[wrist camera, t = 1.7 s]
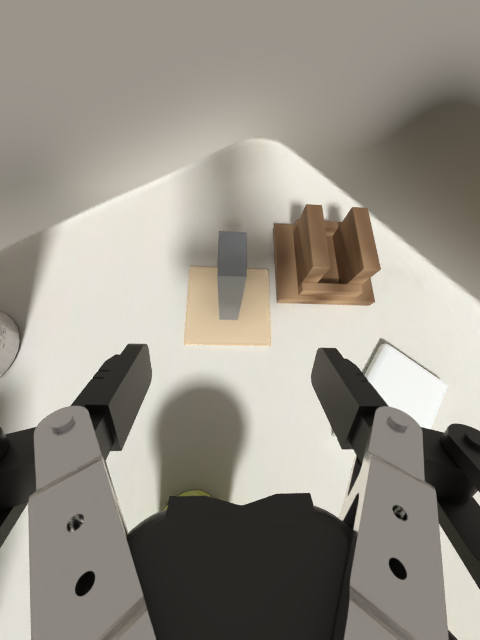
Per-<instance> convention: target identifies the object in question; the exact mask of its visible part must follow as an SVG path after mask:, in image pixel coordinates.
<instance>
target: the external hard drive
mask: <svg viewBox="0 0 480 640" xmlns="http://www.w3.org/2000/svg"><path fill="white" fill-rule="evenodd" d="M364 376H365V377H366V378H367V379H368V382H370V383H371V384H372V386H373V387H374V388H375V389H376V391H377V392H378V393H379V394H380V396H381V397H382V398H383V399H384V401H385V402H386V403H387V405H388V406H389V407H393V408H396V409H399V410H401V411H403V412H405V413H407V414H408V415H410V416H411V417H412V418H413V419H414V420H415V421H416V422H417V423H418V424H419V426H420V427H423V428H427V429H431V426H432V424H433V421H434V419H435V417H436V414H437V412H438V409H439V407H440V404H441V402H442V399H443V397H444V394H445V392H446V389H447V387H448V386H447V384H445V383H444V382H443V381H441V380H440V379H438V378H437V377H435V376H434V375H433V374H431V373H430V372H428V371H427V370H425V369H424V368H422V367H421V366H420V365H418V364H416V363H415V362H414V361H412V360H411V359H409V358H408V357H406V356H405V355H404V354H402V353H401V352H399V351H398V350H396V349H395V348H393V347H392V346H390V345H389V344H387V343H384V344H381V345H380V346H379V348H378V350H377V352H376V353H375V355H374V357H373V359H372V361H371V363H370V365H369V367H368V368H367V370H366V372H365V374H364ZM332 436H333V437H334V438H336V439H337V437H336V435H335V433H334V431H333V433H332ZM350 450H351V451H353V452H354V450H353V449H350ZM354 453H355V452H354ZM355 454H356V453H355Z"/></svg>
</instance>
